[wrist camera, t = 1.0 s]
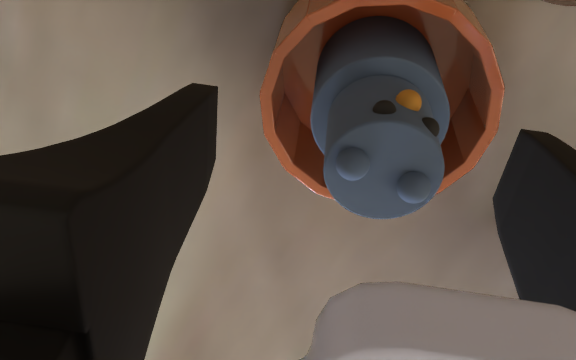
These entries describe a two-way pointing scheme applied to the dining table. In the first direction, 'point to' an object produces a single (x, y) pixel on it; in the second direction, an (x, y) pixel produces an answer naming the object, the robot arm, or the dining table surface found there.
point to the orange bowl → (449, 57)
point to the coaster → (562, 2)
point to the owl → (380, 117)
